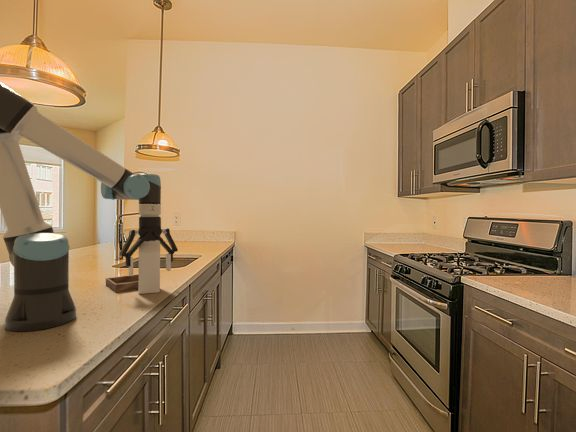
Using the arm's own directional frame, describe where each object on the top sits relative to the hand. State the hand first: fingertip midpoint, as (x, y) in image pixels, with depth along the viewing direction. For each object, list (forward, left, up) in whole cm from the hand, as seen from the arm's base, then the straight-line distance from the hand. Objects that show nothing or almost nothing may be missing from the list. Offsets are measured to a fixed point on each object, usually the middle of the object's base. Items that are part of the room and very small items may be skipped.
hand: (150, 272), depth 119 cm
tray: (-3, +13, -7) cm, 15 cm away
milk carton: (0, 0, -7) cm, 7 cm away
